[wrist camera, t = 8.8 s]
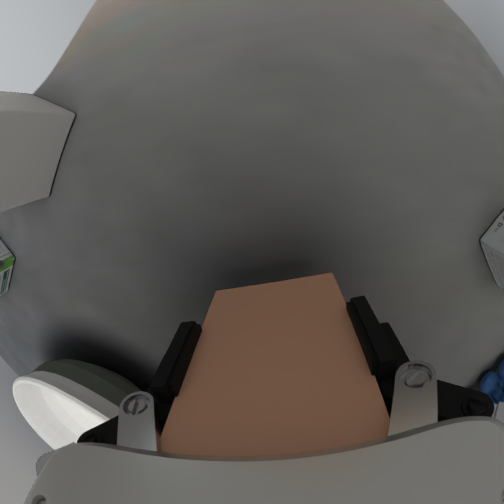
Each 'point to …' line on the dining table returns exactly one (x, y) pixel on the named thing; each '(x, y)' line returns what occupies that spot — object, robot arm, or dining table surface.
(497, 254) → the skincare box
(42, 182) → the milk carton
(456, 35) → the dining table surface
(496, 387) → the grapes
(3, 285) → the syrup box
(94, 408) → the bowl
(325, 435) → the terracotta domino
